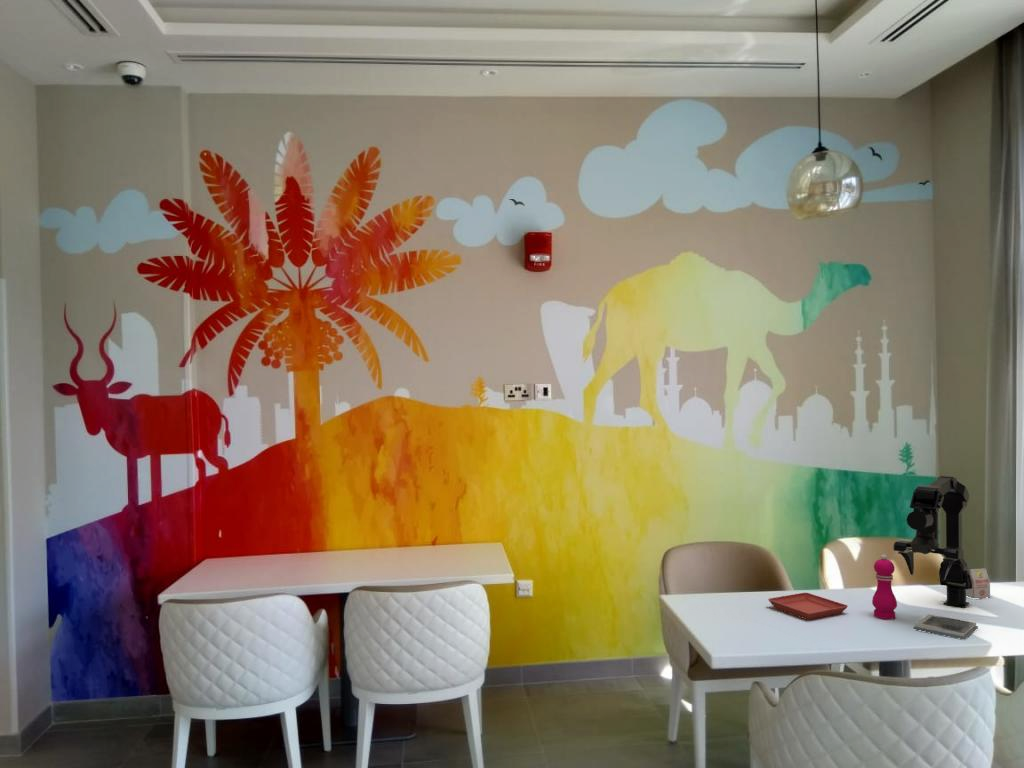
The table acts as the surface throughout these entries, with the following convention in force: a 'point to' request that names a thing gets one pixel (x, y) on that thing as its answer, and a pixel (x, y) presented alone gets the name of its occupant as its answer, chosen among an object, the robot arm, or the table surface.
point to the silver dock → (946, 626)
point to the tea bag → (979, 584)
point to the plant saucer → (807, 605)
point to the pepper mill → (884, 590)
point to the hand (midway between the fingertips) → (927, 577)
